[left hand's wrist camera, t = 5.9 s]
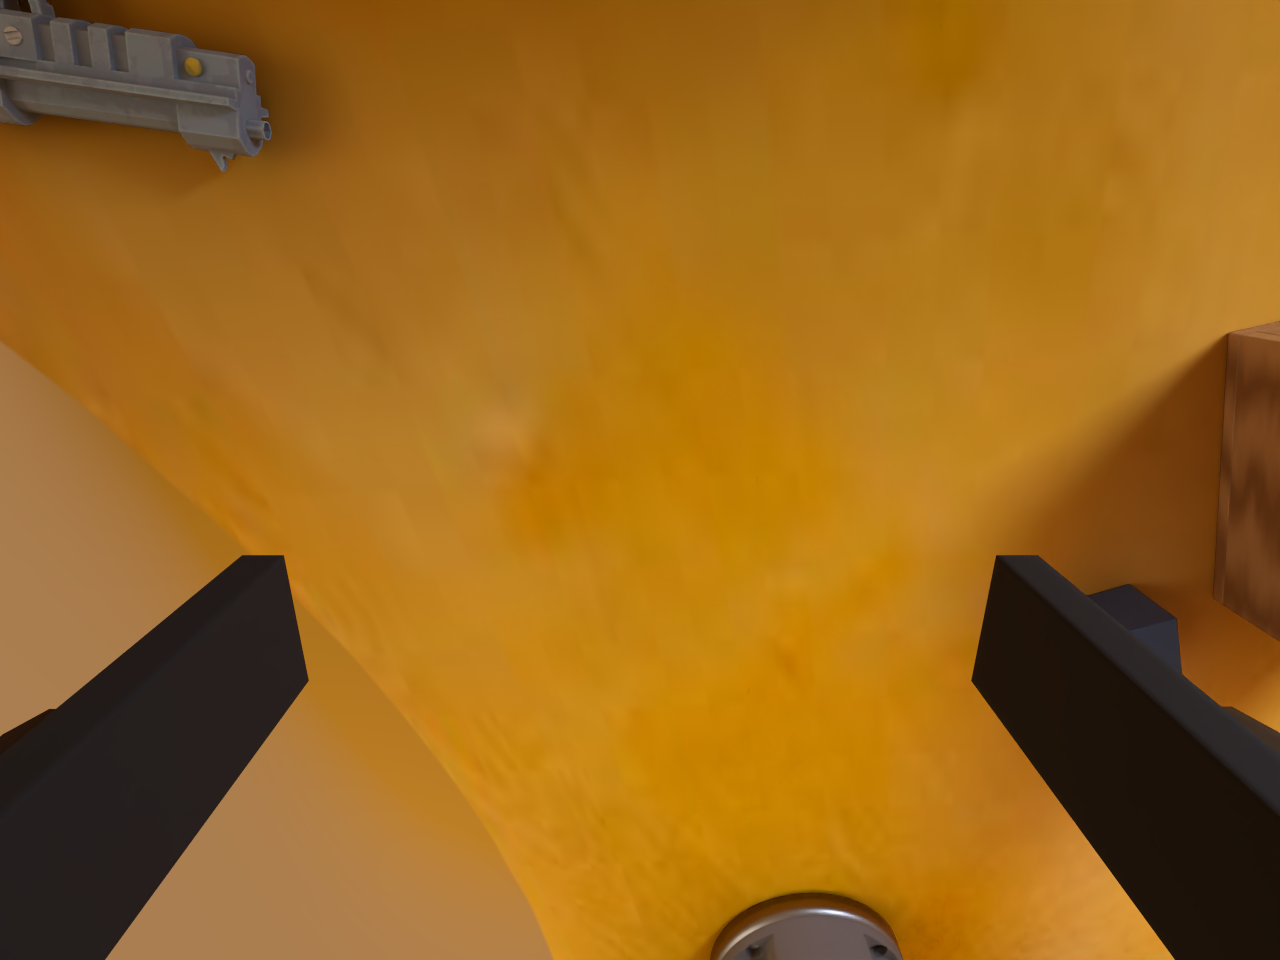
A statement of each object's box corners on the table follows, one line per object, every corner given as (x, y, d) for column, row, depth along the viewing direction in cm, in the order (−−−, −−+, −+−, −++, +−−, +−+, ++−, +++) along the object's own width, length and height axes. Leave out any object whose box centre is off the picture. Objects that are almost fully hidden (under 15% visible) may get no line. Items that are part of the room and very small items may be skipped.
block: (1135, 636, 46) (1182, 674, 42) (1071, 653, 46) (1112, 693, 42) (1129, 583, 44) (1177, 618, 40) (1063, 602, 45) (1104, 638, 41)
